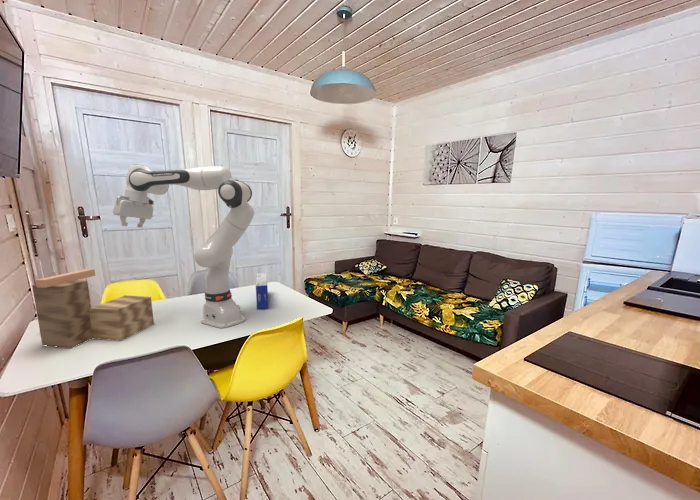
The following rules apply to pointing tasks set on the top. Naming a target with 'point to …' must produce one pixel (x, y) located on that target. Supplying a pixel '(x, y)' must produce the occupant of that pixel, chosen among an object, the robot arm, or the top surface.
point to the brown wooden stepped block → (87, 315)
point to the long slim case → (64, 278)
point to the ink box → (261, 291)
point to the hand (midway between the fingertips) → (132, 226)
